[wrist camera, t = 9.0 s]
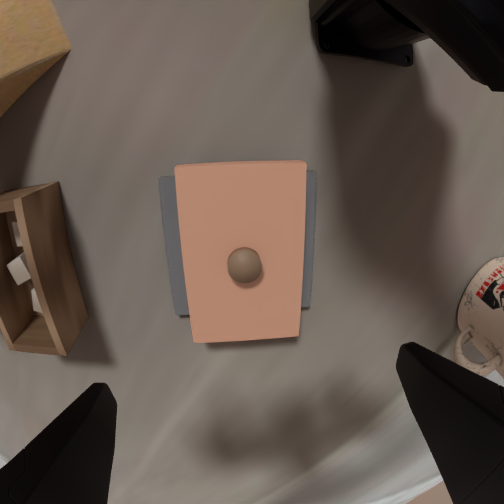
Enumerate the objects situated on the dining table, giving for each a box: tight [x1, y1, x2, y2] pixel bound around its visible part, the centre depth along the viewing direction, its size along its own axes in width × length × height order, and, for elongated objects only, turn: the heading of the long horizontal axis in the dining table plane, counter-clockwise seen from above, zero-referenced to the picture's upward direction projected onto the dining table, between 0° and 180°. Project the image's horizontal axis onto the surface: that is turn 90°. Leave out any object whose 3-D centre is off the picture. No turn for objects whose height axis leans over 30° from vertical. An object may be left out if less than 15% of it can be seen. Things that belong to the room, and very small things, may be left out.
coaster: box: [158, 170, 316, 315], centre depth 19 cm, size 9×9×1 cm
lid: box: [175, 160, 306, 343], centre depth 18 cm, size 11×7×3 cm, turn 1°
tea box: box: [0, 182, 89, 356], centre depth 16 cm, size 10×5×4 cm, turn 1°
